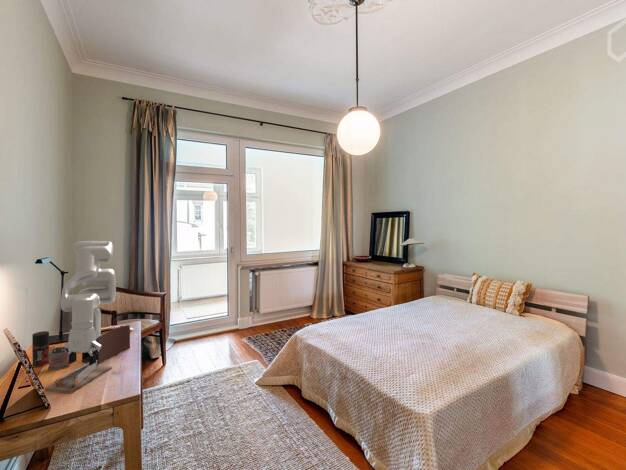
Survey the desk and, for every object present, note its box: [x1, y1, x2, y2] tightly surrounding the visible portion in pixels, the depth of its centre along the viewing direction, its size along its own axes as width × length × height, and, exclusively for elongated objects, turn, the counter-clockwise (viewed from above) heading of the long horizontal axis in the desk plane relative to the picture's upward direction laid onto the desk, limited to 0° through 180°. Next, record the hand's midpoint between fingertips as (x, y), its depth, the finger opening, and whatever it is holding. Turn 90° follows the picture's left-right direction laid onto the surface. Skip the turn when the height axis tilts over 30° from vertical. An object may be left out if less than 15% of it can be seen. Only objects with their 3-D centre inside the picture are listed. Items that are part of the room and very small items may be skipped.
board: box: [44, 364, 113, 394], centre depth 133 cm, size 21×12×1 cm, turn 174°
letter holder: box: [81, 324, 131, 365], centre depth 157 cm, size 10×20×14 cm, turn 169°
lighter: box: [47, 345, 71, 371], centre depth 142 cm, size 8×3×10 cm, turn 114°
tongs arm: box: [72, 362, 98, 387], centre depth 132 cm, size 16×1×3 cm, turn 9°
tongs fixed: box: [55, 360, 97, 387], centre depth 133 cm, size 18×2×3 cm, turn 174°
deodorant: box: [31, 330, 50, 368], centre depth 145 cm, size 6×6×15 cm
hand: (82, 363), depth 134 cm, fingers open, 9 cm apart
